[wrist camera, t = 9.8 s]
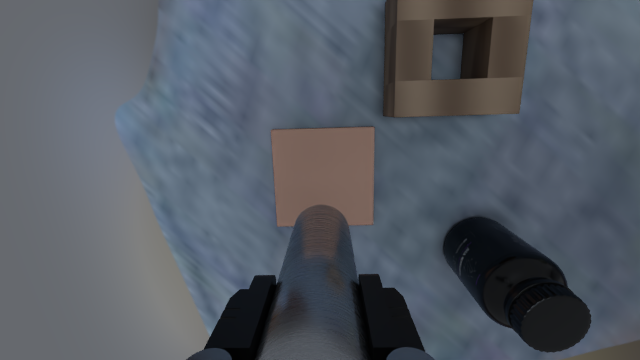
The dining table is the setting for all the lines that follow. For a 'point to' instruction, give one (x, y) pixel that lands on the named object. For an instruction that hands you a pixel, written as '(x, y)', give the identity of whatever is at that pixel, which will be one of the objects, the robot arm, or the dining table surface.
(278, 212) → the terracotta mat
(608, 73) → the dining table surface
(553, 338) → the supplement bottle
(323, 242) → the metal pin
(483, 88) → the walnut block
